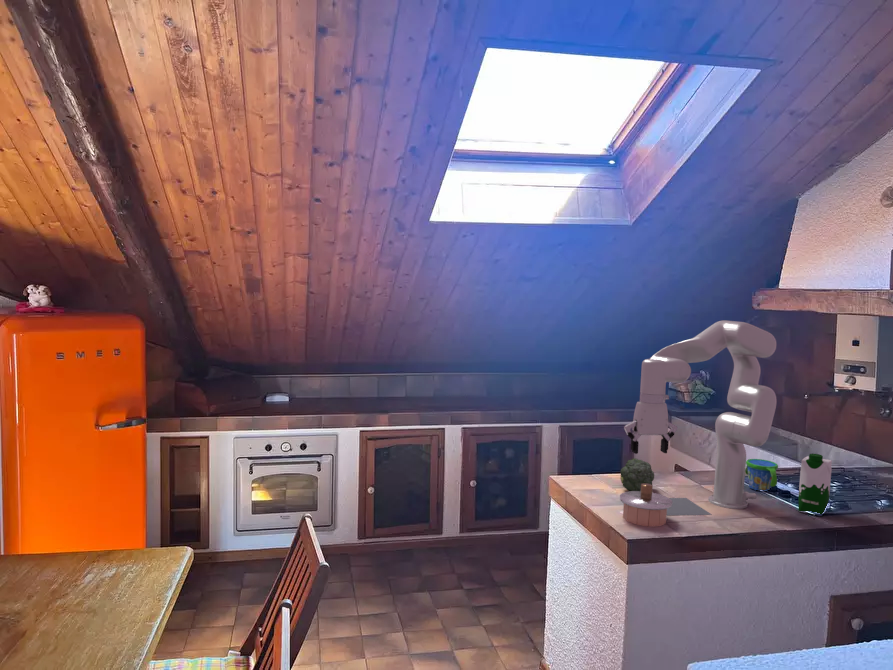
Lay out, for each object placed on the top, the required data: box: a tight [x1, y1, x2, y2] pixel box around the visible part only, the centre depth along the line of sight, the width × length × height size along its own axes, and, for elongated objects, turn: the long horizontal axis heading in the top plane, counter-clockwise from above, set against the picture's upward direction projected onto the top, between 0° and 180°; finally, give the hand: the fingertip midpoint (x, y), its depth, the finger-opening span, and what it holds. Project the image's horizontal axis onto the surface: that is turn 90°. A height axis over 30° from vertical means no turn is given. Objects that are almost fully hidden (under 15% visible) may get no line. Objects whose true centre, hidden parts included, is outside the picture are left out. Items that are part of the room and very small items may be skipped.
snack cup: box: [745, 458, 779, 491], centre depth 259 cm, size 16×10×10 cm
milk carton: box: [797, 453, 833, 514], centre depth 235 cm, size 9×9×20 cm
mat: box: [667, 497, 712, 517], centre depth 235 cm, size 17×17×1 cm
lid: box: [619, 483, 672, 510], centre depth 221 cm, size 16×16×5 cm
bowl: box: [622, 503, 668, 527], centre depth 222 cm, size 13×13×6 cm
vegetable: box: [620, 457, 655, 492], centre depth 253 cm, size 12×13×15 cm
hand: (649, 452), depth 220 cm, fingers open, 9 cm apart
